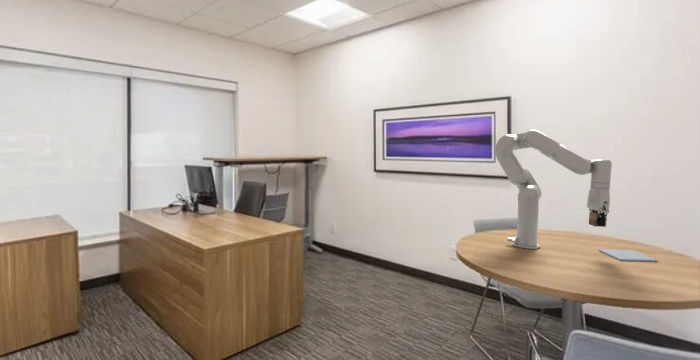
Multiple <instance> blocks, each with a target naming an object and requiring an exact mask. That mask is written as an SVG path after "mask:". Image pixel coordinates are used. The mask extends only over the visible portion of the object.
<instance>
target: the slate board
mask: <svg viewBox="0 0 700 360" xmlns="http://www.w3.org/2000/svg"><path fill="white" fill-rule="evenodd" d="M598 252H600V253H601V254H605V255H607V256H609V257H610V258H611V257H612V258H614V260H618V261H620V262H648V263H649V262H652V263H653V262H655V263H658V259H655V258H653V257H650V256H648V255H646V254H643V253H641V252H638V251H635V250H633V249H630V250H629V249H602V248H601V249H598Z"/></svg>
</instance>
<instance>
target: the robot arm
mask: <svg viewBox="0 0 700 360" xmlns="http://www.w3.org/2000/svg"><path fill="white" fill-rule="evenodd" d="M529 148H532V149H533V150H535V151H537V152H539V153H541V154H542V155H543V156H545V157H547V158H548V159H550V160H552V161H554V162H556V163H557V164H559V165H561V166H562V167H563V168H566V169H568V170H569V171H571V172H572V173H573V174H577V175H580V176H583V175H587V174H589V175H590V174H591V175H590V188H589V190H588V196H587V204H586V207H587V209H588V210H589V213H590V212H598V214H599V217H598V219H597V225H598V226H605V218H606V215H607V216H608V214H610V204H611V203H610V202H611V201H610V199H611V197H610V195H611V194H610V190H611V177H612V176H611V175H612V166H613V165H612V160H610V159H588V158H583V156H580V155H578V154H576V153H574V152H573V151H571V150H569V149H568V148H567V147H566V146H565V145H563V144H562V143H561V142H559V141H557V140H556V139H553V138H552V137H550V136H548V135H546V134H544V133H543V132H542V131H540V130H537V129H529V130H528V131H525V132H522V133H515V134H512V133H511V134H510V133H509V134H508V133H506V134H504V135H502V136H501V137H499V139H498V140H497V141H496V144H495V147H494V150H495V151H494V153H495V158H496V160H497V161H498V163H499V165H500V167H501V168H502V170H503V171H504V174H505V175H506V177H507V178H508V180H509V181H508V182H510V183H511V184H512V185H514V186H516V188H517V189H518V190H519V191H518V194H517V226H516V229H517V230H516V231H517V232H516V235H514V237H506V242H511V243H512V244H513V246H515V247H517V248H521V249H527V250H534V249H535V250H536V249H540V248H541V244H539V243H538V229H539V228H538V227H539V226H538V225H539V200H540V199H541V197H542V189H541V187H540V186H539V184H538V183H537V182H536V180H535V178H534V176H533V175H532V173H531V172H530V170H528V168H526V167H524V166H522V164H521V163H520V161H519V160H518V157H516V155H515V154H514V152H513V151H517V150H525V149H529ZM601 212H602V214H601Z"/></svg>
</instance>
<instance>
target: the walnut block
mask: <svg viewBox="0 0 700 360" xmlns="http://www.w3.org/2000/svg"><path fill="white" fill-rule="evenodd" d="M601 214H602V212H601ZM598 217H599V214H598V212H590V211H589V215H588V225H590V226H593V227H599V228H600V227H601V228H602V227H603V228H606V227H607V221H608V220H607V219H608V218H607V217H608V214H607V215H606V218H605V226H598V225H597V219H598Z"/></svg>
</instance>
